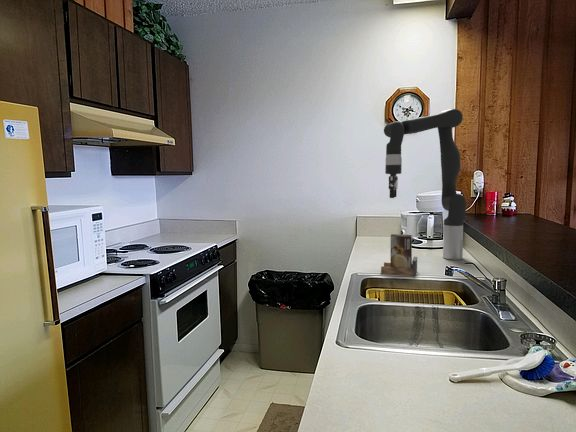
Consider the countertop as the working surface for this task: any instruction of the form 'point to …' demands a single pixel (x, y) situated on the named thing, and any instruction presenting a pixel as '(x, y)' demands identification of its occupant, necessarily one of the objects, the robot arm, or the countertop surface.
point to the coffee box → (401, 251)
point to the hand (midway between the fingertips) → (393, 197)
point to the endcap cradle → (400, 269)
